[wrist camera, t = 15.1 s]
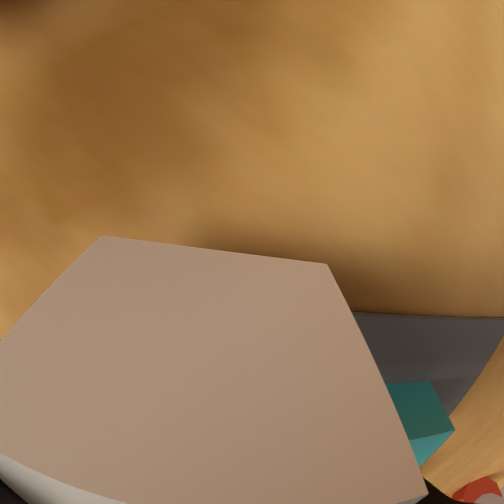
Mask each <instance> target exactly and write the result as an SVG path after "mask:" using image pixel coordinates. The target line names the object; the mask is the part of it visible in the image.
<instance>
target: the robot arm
mask: <svg viewBox="0 0 504 504" xmlns="http://www.w3.org/2000/svg"><path fill="white" fill-rule="evenodd" d="M423 479H424V482H425V485H426V488H427V490H428V493H429V494H428V495H426V496H425V497H424V498H422V499H421V500H420V501H418V502H417V503H415V504H477V503H469V502H462V501H458V500H455V499H452V498H450V497H448V496H446V495H445V494H444V493H442V492H441V491H440V490H438V489H437V488H436V487H435V486H433V485H432V484H431V483H430V482H428V481H427V480H426V479H425V478H423ZM0 504H28V503H27V502H26V501H25V500H24V499H22V498H21V497H20V496H19V495H18V494H17V493H15V492H14V491H13V490H12V489H11V488H10V487H9V486H8V485H6V484H5V483H4V482H3V481H2V480H1V479H0Z"/></svg>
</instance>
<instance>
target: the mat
mask: <svg viewBox="0 0 504 504" xmlns="http://www.w3.org/2000/svg"><path fill="white" fill-rule="evenodd" d="M351 313H352V315H353V317H354V319H355V321H356V323H357V325H358V327H359V329H360V331H361V333H362V335H363V337H364V339H365V342H366V344H367V346H368V348H369V350H370V352H371V354H372V357H373V359H374V361H375V363H376V365H377V367H378V370H379V372H380V374H381V376H382V379H383V381H384V383H385V384H397V383H410V382H422V381H429V382H430V384H431V385H432V387H433V389H434V391H435V393H436V394H437V396H438V398H439V400H440V402H441V404H442V405H443V407H444V409H445V411H446V413H447V415H448V416H449V415H450V414H451V413H452V411H453V410H454V409H455V408H456V406H457V405H458V404H459V402H460V401H461V400H462V398H463V397H464V396H465V394H466V393H467V392H468V390H469V389H470V387H471V386H472V385H473V383H474V382H475V380H476V379H477V377H478V376H479V374H480V373H481V371H482V370H483V368H484V367H485V365H486V364H487V362H488V361H489V359H490V357H491V356H492V354H493V352H494V351H495V349H496V347H497V346H498V344H499V342H500V341H501V339H502V337H503V335H504V317H447V316H421V315H400V314H383V313H367V312H353V311H351Z"/></svg>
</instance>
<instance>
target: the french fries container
mask: <svg viewBox="0 0 504 504" xmlns="http://www.w3.org/2000/svg"><path fill="white" fill-rule="evenodd" d="M452 499H455V500H458V501H462V502H469V503H477V504H504V499H503V497H502V494H501V492H500V489H499V487H498V485H497V483H496V482H494V481H492V480H490V479H488V478H486V477H483V478H481V479H479V480H476V481H474V482H471V483H469V484H467V485H466V486H464V487H463V488H462V489H460V490H459V491H458V492H456V493H455V494H453V496H452Z"/></svg>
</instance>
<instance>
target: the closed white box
mask: <svg viewBox="0 0 504 504" xmlns="http://www.w3.org/2000/svg"><path fill="white" fill-rule="evenodd" d="M0 479H1V480H2V481H3V482H4V483H5V484H6V485H8V486H9V487H10V488H11V489H12V490H13V491H14V492H15V493H17V494H18V495H19V496H20V497H21V498H22V499H24V500H25V501H26V502H27V503H28V504H415V503H417V502H418V501H420V500H421V499H422V498H424V497H425V496H426V495H428V494H429V493H428V490H427V488H426V485H425V482H424V479H423V476H422V474H421V471H420V468H419V466H418V463H417V460H416V458H415V455H414V453H413V450H412V448H411V445H410V442H409V440H408V437H407V435H406V432H405V430H404V428H403V425H402V423H401V420H400V418H399V416H398V413H397V411H396V408H395V406H394V404H393V401H392V399H391V397H390V394H389V392H388V390H387V388H386V385H385V383H384V381H383V379H382V376H381V374H380V372H379V370H378V367H377V365H376V363H375V361H374V359H373V357H372V354H371V352H370V350H369V348H368V346H367V344H366V342H365V339H364V337H363V335H362V333H361V331H360V329H359V327H358V325H357V323H356V321H355V319H354V317H353V315H352V313H351V311H350V308H349V306H348V304H347V302H346V300H345V298H344V296H343V294H342V293H341V291H340V289H339V287H338V285H337V283H336V281H335V279H334V277H333V275H332V273H331V271H330V269H329V267H328V265H327V264H323V263H315V262H307V261H299V260H292V259H284V258H276V257H268V256H260V255H252V254H244V253H236V252H229V251H221V250H213V249H205V248H197V247H189V246H182V245H174V244H166V243H158V242H151V241H143V240H135V239H127V238H120V237H112V236H104V235H101V236H100V237H99V238H98V239H97V240H96V241H95V242H94V243H93V244H92V245H91V246H90V247H88V248H87V249H86V250H85V251H84V252H83V253H82V254H81V255H80V256H79V257H78V258H77V259H76V260H75V261H74V262H73V263H72V264H71V265H70V266H69V267H68V268H67V269H66V270H65V271H64V272H63V273H62V274H61V275H60V276H59V277H58V278H57V279H56V280H55V281H54V282H53V283H52V284H51V285H50V286H49V287H48V288H47V289H46V290H45V291H44V292H43V293H42V294H41V296H40V297H39V298H38V299H37V300H36V301H35V302H34V303H33V304H32V305H31V306H30V308H29V309H28V310H27V311H26V312H25V313H24V314H23V315H22V316H21V318H20V319H19V320H18V321H17V322H16V323H15V325H14V326H13V327H12V328H11V329H10V330H9V332H8V333H7V334H6V335H5V336H4V338H3V339H2V340H1V341H0Z"/></svg>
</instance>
